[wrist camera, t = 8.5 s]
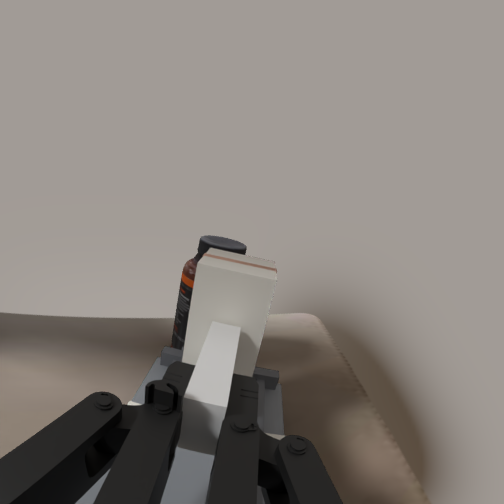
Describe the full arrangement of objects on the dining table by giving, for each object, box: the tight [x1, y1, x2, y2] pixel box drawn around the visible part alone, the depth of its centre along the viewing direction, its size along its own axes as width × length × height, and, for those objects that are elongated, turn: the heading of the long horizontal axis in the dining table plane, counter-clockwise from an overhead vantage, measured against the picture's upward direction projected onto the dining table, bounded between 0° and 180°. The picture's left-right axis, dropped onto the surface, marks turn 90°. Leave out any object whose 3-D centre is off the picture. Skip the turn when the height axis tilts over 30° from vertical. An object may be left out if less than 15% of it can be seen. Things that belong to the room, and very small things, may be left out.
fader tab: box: [182, 248, 277, 377], centre depth 19 cm, size 5×5×10 cm
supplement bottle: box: [171, 236, 246, 351], centre depth 28 cm, size 6×6×11 cm
